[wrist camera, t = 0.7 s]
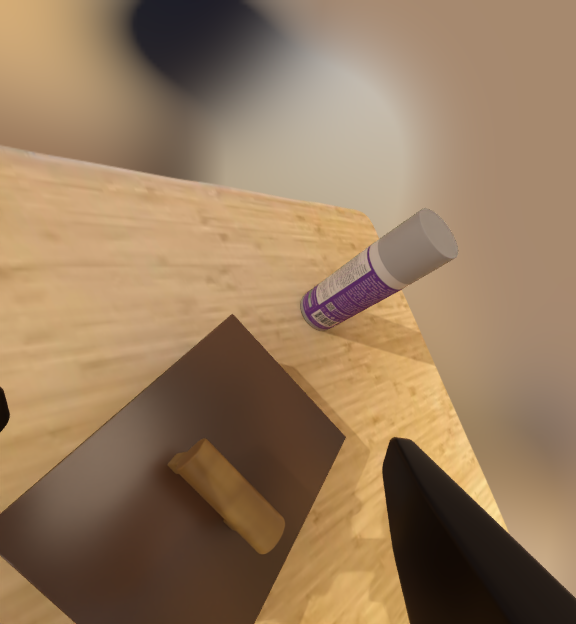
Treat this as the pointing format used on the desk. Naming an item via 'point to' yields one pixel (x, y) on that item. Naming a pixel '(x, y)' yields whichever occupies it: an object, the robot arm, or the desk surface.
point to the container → (381, 270)
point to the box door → (179, 494)
